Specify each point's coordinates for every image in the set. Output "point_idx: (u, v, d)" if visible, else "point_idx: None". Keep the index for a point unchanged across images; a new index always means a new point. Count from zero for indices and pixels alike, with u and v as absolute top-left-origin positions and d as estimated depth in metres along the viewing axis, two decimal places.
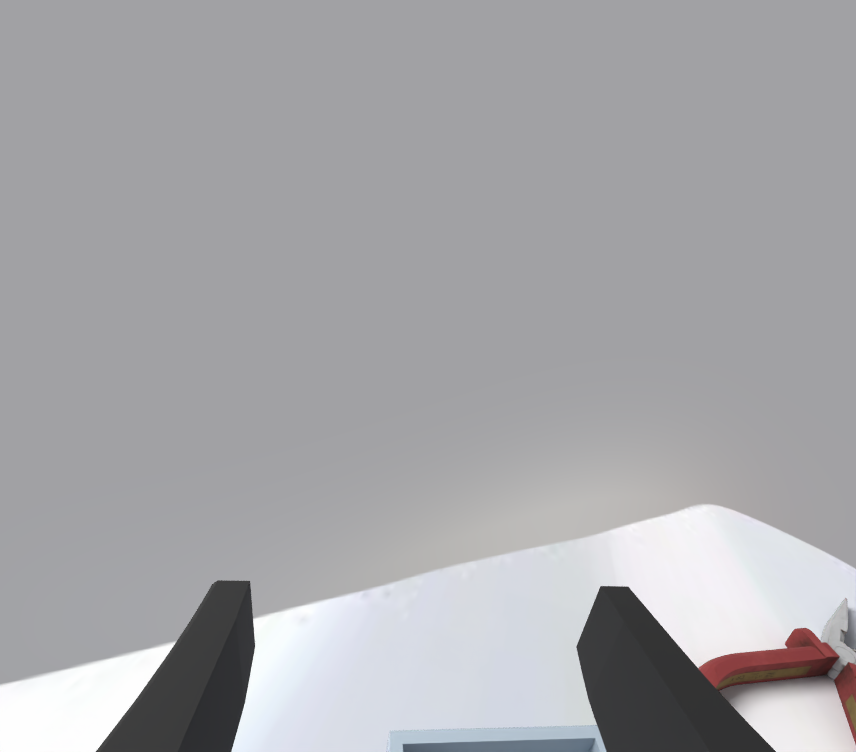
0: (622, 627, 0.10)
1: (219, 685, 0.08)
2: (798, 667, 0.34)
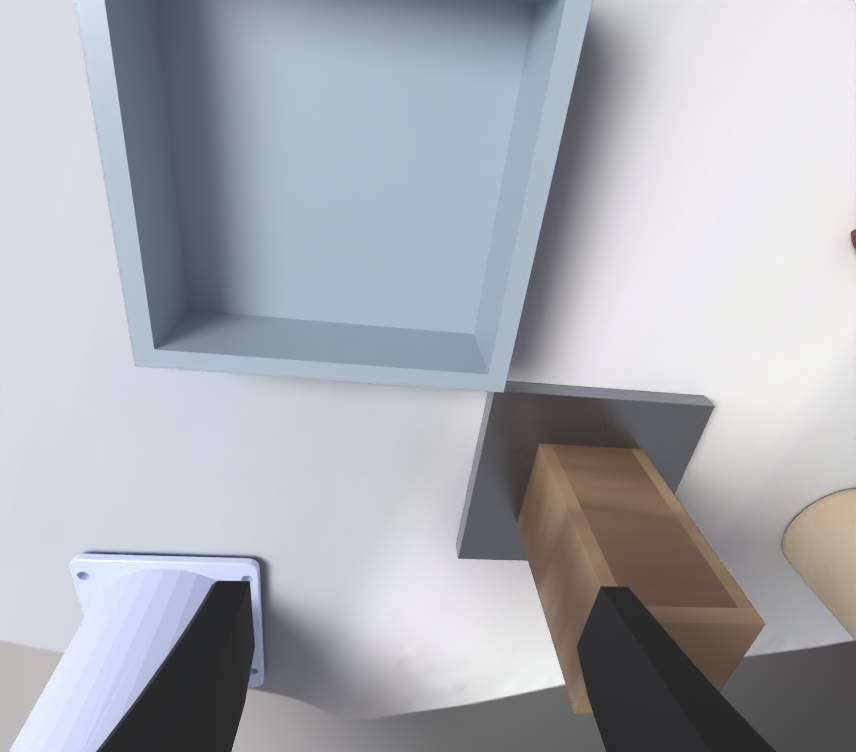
0: (622, 627, 0.10)
1: (219, 685, 0.08)
2: None
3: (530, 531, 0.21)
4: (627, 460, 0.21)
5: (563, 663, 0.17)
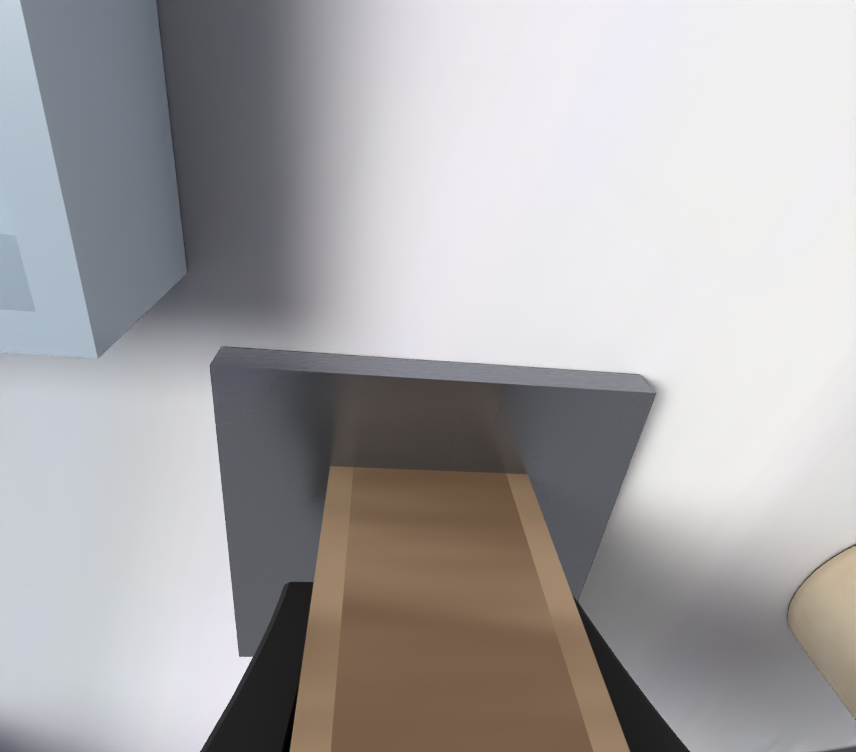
0: None
1: None
2: None
3: None
4: (491, 497, 0.11)
5: None
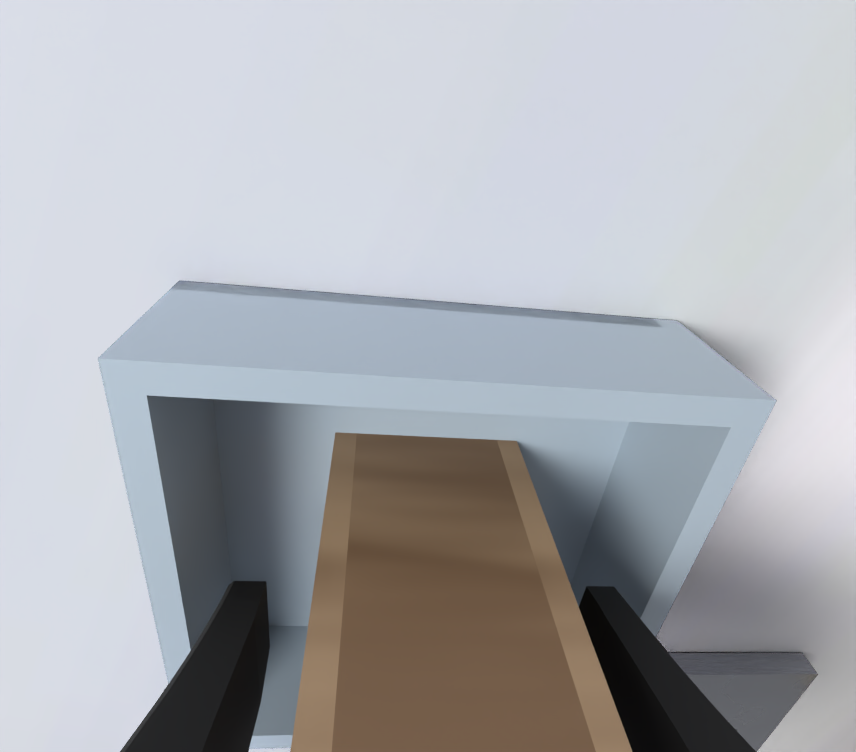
0: (607, 627, 0.10)
1: (239, 685, 0.08)
2: None
3: None
4: (482, 459, 0.12)
5: None
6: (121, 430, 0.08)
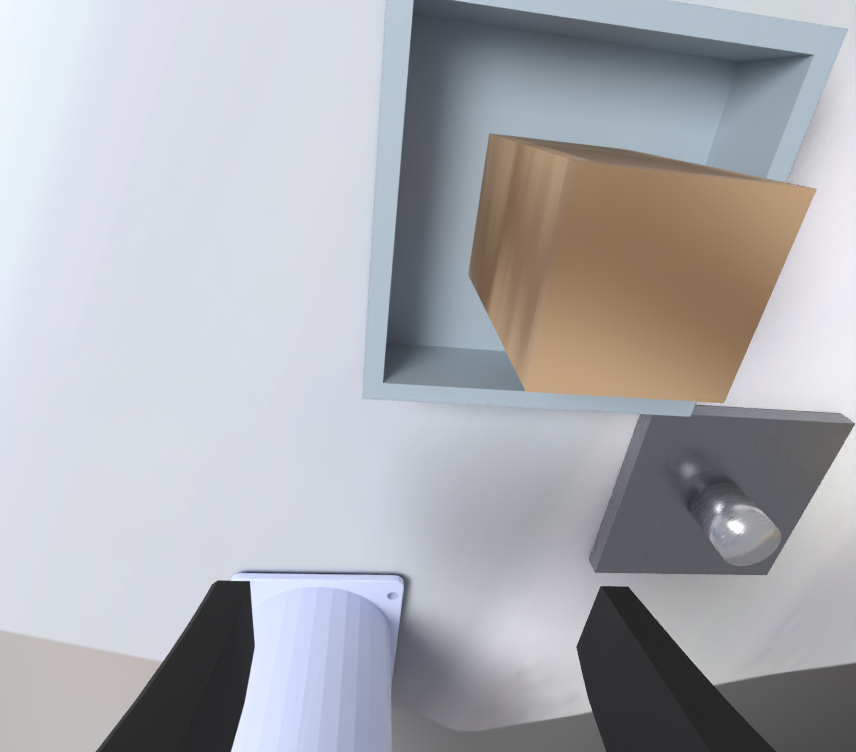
0: (622, 627, 0.10)
1: (219, 685, 0.08)
2: None
3: (480, 256, 0.16)
4: (607, 148, 0.15)
5: (513, 348, 0.12)
6: (389, 28, 0.12)
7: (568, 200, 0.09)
